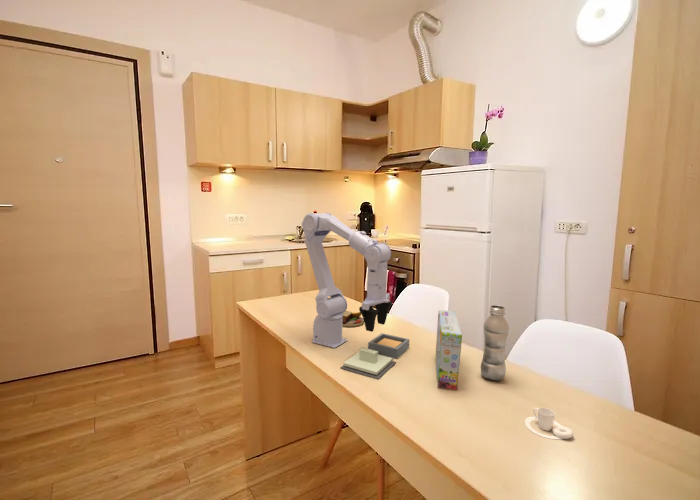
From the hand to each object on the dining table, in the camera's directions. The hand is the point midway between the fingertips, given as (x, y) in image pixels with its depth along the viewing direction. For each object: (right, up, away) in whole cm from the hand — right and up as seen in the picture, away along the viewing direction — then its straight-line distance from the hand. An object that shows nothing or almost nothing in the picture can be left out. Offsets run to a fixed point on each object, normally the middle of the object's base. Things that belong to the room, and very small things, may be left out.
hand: (375, 327), depth 110 cm
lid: (-2, -9, -6) cm, 11 cm away
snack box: (+19, -11, -8) cm, 24 cm away
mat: (-2, -10, -6) cm, 12 cm away
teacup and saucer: (+33, -15, -36) cm, 51 cm away
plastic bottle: (+31, -12, -11) cm, 35 cm away
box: (+5, -9, +6) cm, 12 cm away
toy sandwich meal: (-9, -6, +33) cm, 34 cm away
